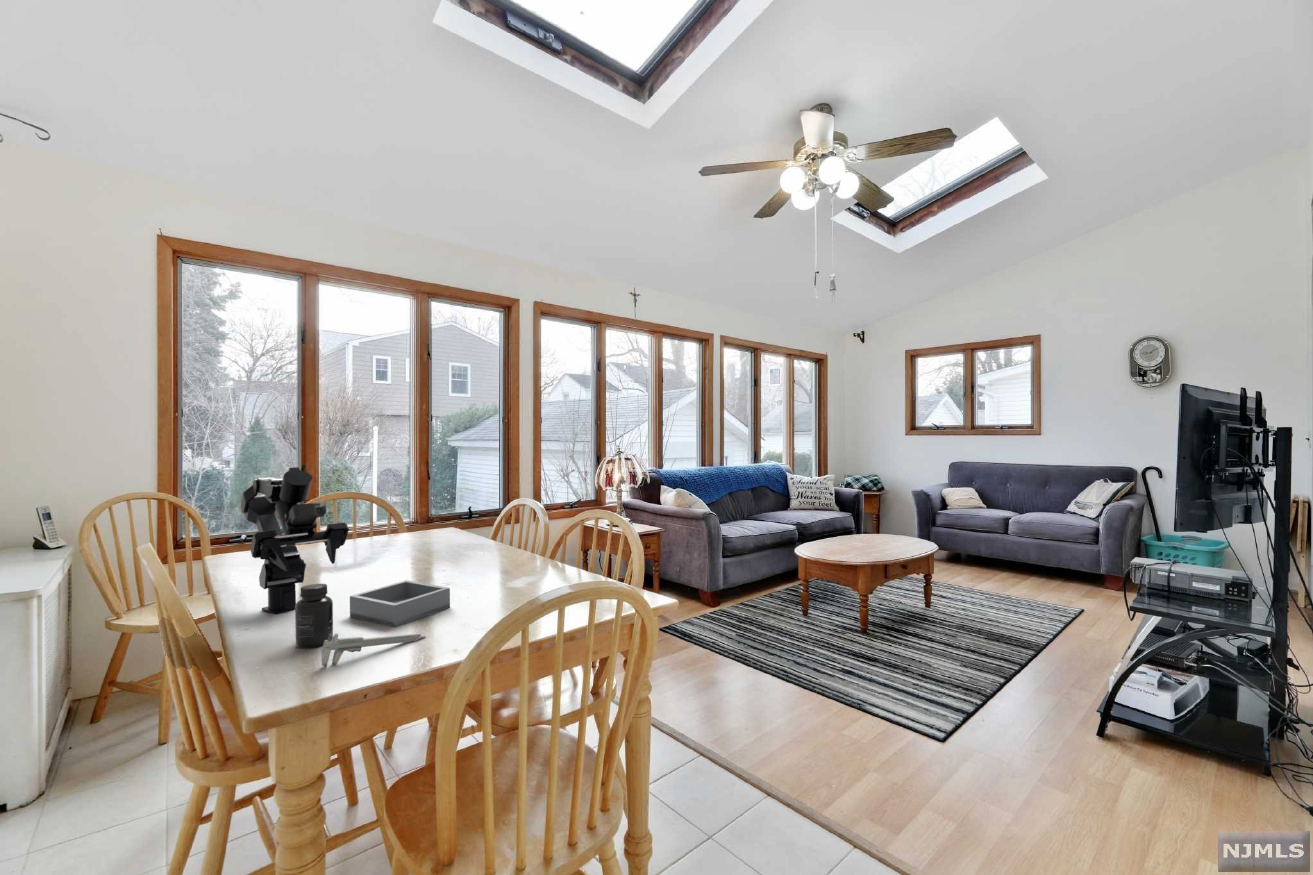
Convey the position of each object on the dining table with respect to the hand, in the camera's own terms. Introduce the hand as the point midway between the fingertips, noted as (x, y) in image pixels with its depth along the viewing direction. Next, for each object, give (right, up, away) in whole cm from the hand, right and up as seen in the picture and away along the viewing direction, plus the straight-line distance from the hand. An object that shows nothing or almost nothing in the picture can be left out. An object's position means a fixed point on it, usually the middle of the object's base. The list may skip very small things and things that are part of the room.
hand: (311, 566), depth 127 cm
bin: (+14, -14, +14) cm, 24 cm away
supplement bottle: (+5, -15, -6) cm, 17 cm away
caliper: (+20, -15, -11) cm, 28 cm away
